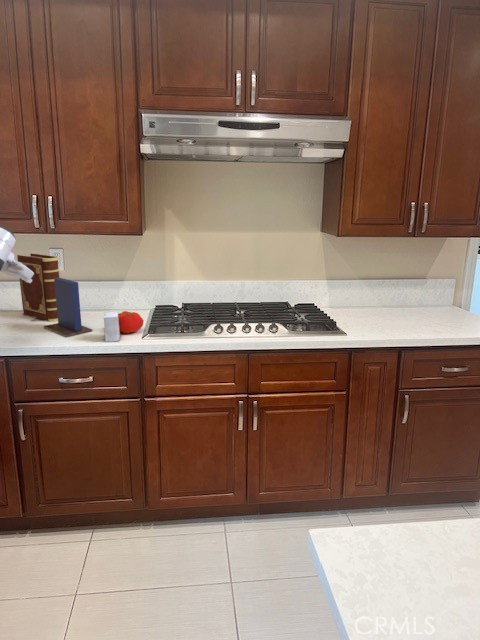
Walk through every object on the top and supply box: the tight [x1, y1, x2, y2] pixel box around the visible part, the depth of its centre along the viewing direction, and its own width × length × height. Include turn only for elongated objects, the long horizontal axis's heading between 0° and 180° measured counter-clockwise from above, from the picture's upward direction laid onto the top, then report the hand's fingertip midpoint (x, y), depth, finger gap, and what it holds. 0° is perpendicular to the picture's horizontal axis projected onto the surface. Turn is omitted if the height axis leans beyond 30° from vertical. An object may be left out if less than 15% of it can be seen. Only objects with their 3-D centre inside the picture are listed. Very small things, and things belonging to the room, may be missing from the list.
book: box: [54, 277, 83, 331], centre depth 204 cm, size 3×15×21 cm, turn 48°
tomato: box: [118, 310, 144, 334], centre depth 204 cm, size 13×12×8 cm
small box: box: [103, 312, 121, 343], centre depth 193 cm, size 8×6×10 cm
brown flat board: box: [43, 322, 93, 338], centre depth 206 cm, size 12×20×1 cm, turn 48°
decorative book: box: [16, 253, 61, 323], centre depth 223 cm, size 22×8×30 cm, turn 58°
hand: (29, 281), depth 190 cm, fingers closed
